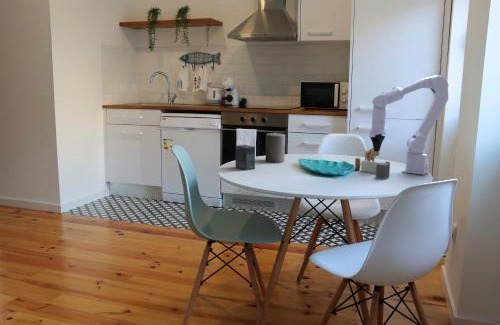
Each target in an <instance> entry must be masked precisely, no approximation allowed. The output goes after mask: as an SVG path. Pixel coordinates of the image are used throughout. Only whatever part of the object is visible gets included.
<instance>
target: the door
mask: <svg viewBox="0 0 500 325" xmlns="http://www.w3.org/2000/svg"><path fill="white" fill-rule="evenodd" d="M379 163H380V162H378V161H374V162H372V160H370V161H367V160H366V161H364V159H363V160H360V171H361V172H362V171H363V172H369V173H370V172H371V173H376V166H377V164H379Z"/></svg>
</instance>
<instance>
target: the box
mask: <svg viewBox="0 0 500 325" xmlns="http://www.w3.org/2000/svg"><path fill="white" fill-rule="evenodd" d="M235 169H240V170H244V171H250V170H255V169H256V146H252V145H247V144H241V145H235Z"/></svg>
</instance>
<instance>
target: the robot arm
mask: <svg viewBox="0 0 500 325" xmlns="http://www.w3.org/2000/svg"><path fill="white" fill-rule="evenodd" d="M420 89H430V91H431V92H432V94H433V97H434V100H433V102H432V103H431V105H430V107H429V109H428V110H427V113H426V114H425V116H424V118H423V120H422V121H421V123H420V124H419V127H418V128H417V130H416V131H415V132H414V133H413V135H412V136H410V137H409V138H408V139H407V141H406V146H407V148H408V149H407V150H406V156H405V169H403V170H401V172H402V173H408V174H415V175H423V176H424V175H426V174H427V173H429V163H430V155H429V154H427V153H425V152H424V149H425V147H426V141H428V135H429V134H430V133H431V132H430V131H431V130H432V128H433V127H434V125H435V123H436V121H437V119H438V118H439V116H440V115H441V112H442V111H443V109H444V108H445V106H446V104H447V102H449V101H448V100H449V83H448V80H447V78H446V77H445V76H443V75H440V74H437V75H435V74H434V75H431V76H428V77H424V78H421V79H419V80H417V81H415V82H412V83H410V84H408V85H406V86H403V87H399V86H397V87H396V86H393V87H391V89H389V90H386V91H381V94H377V95H374V97H373V99H372V100H371V102H372V105H373V106H372V115H371V116H372V117H371V130H368V133H369V138H370V140H371V143H372V147H373V148H374V151H376V152H379V153H380V151H381V148H382V144H383V141H384V140H385V138H386V129H385V126H386V113H387V111H386V108H387V107H386V106H388V105H391V104H393V103H395V102H397V101H401V100H403V98H404V96H405V95H407V94H410V93H412V92H416V91H417V90H420Z"/></svg>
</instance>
